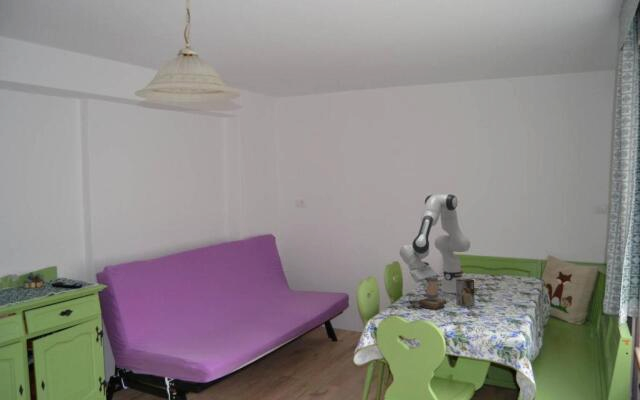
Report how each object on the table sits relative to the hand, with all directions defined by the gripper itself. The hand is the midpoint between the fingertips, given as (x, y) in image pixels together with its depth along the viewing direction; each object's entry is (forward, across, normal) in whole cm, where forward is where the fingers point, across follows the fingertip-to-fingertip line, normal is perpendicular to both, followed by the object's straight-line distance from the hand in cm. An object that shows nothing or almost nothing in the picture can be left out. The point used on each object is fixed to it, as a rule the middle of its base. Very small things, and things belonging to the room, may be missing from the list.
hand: (431, 285), depth 307 cm
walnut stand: (+10, 0, +9) cm, 14 cm away
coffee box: (+19, +17, 0) cm, 26 cm away
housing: (+5, 0, +5) cm, 7 cm away
